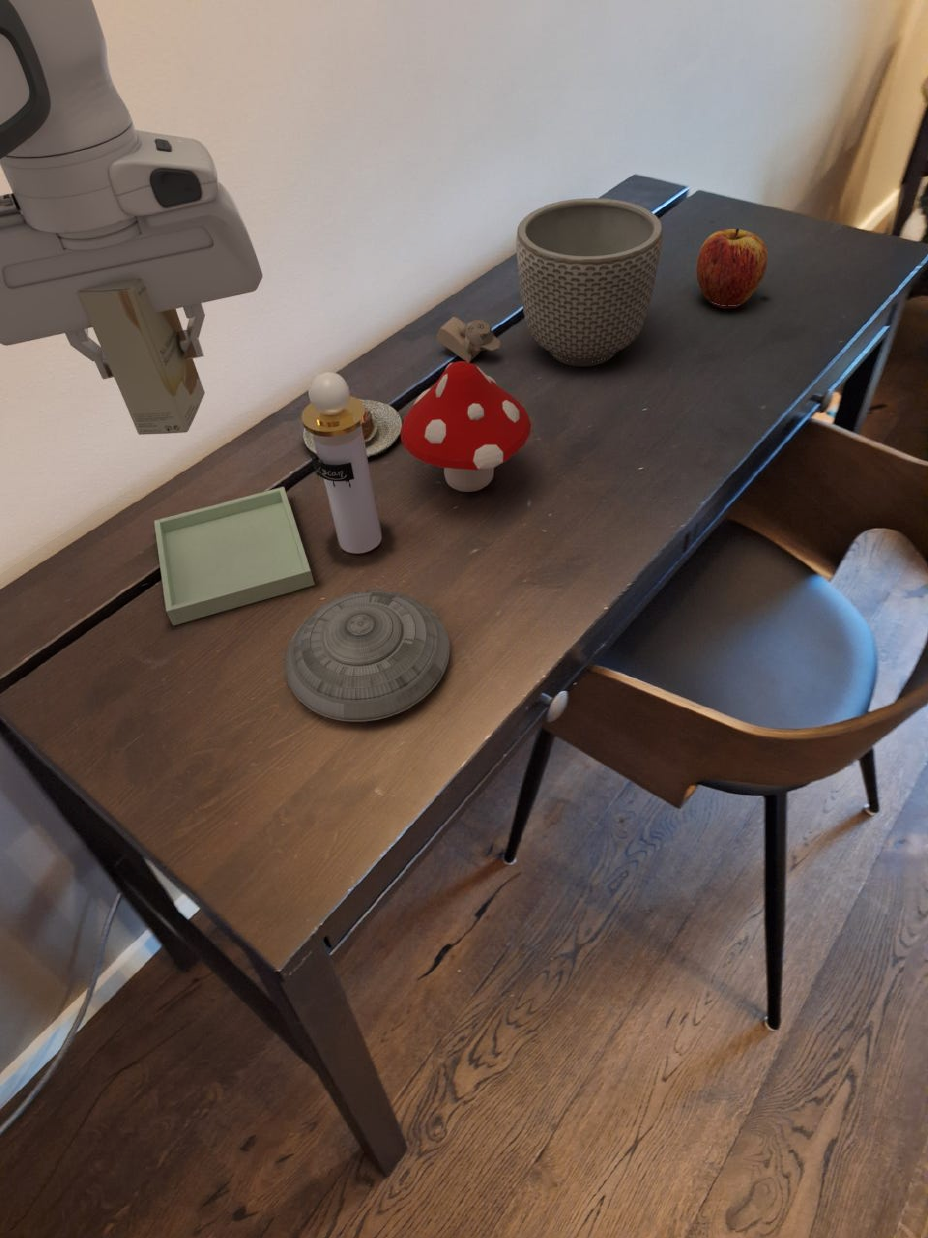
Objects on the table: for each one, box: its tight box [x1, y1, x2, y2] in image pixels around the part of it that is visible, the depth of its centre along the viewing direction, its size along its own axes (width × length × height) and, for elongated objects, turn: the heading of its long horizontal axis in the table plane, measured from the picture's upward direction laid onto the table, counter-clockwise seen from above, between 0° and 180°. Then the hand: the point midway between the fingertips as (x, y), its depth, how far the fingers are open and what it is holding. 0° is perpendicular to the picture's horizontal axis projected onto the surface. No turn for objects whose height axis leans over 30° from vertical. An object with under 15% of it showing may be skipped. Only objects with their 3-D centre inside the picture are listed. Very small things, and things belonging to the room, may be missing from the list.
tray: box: [153, 486, 316, 626], centre depth 84 cm, size 14×14×2 cm
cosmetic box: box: [78, 279, 205, 436], centre depth 64 cm, size 6×4×12 cm
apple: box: [696, 228, 768, 310], centre depth 110 cm, size 9×9×10 cm
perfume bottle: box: [301, 371, 383, 554], centre depth 78 cm, size 6×6×20 cm
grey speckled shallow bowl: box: [302, 398, 403, 458], centre depth 97 cm, size 12×12×5 cm
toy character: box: [435, 316, 502, 363], centre depth 107 cm, size 4×8×6 cm, turn 58°
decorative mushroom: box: [400, 360, 532, 493], centre depth 85 cm, size 14×14×15 cm
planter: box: [515, 197, 664, 368], centre depth 102 cm, size 17×17×16 cm
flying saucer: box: [284, 589, 451, 723], centre depth 73 cm, size 15×15×6 cm
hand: (154, 364), depth 65 cm, fingers closed on cosmetic box, 5 cm apart
